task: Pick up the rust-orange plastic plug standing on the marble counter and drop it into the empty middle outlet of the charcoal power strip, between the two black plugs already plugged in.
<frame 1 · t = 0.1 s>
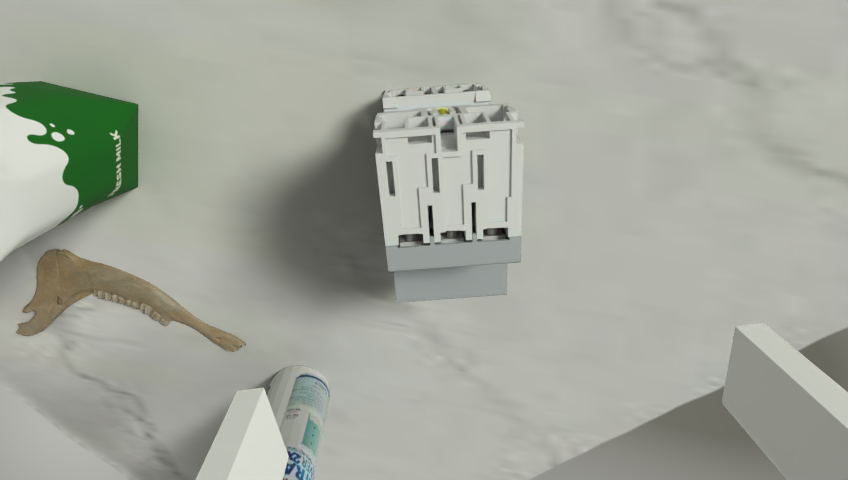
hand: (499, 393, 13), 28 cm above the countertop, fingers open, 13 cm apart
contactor: (437, 173, 40), on the countertop
jawbone: (137, 323, 46), on the countertop
milk carton: (94, 136, 37), on the countertop
spray can: (301, 387, 49), on the countertop
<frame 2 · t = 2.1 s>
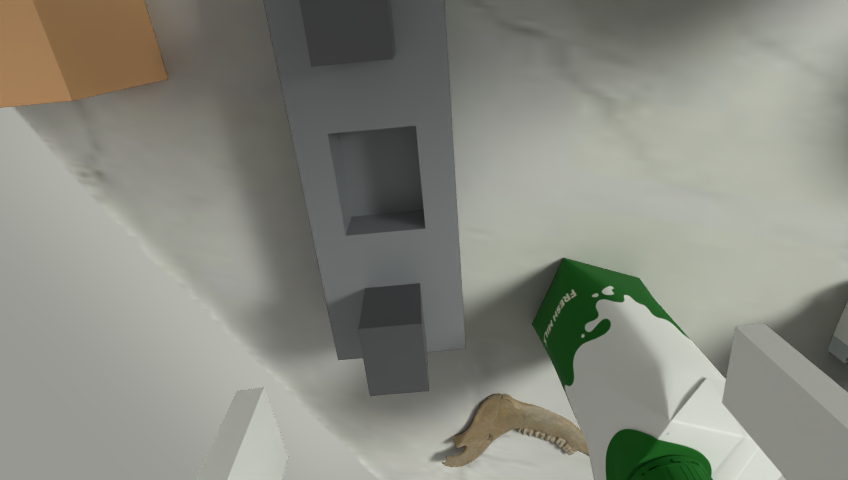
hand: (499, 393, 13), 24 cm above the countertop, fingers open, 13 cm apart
plug: (125, 38, 31), on the countertop
power strip: (383, 162, 35), on the countertop
jawbone: (533, 449, 49), on the countertop
milk carton: (584, 300, 41), on the countertop
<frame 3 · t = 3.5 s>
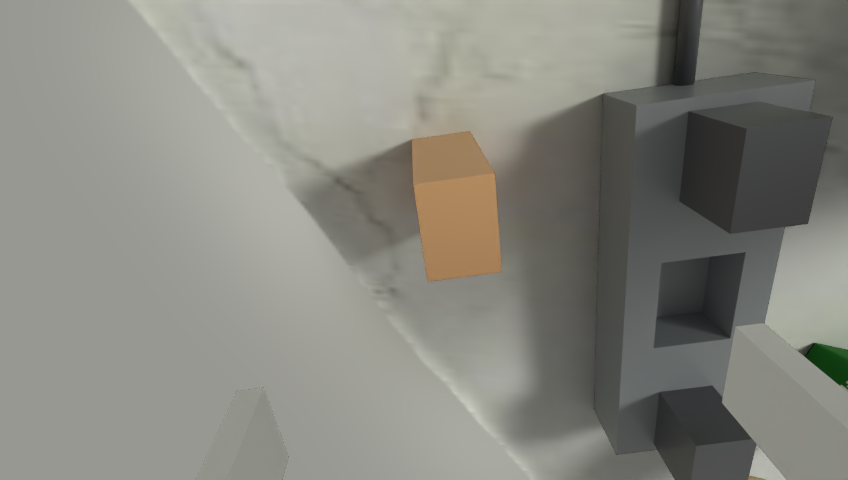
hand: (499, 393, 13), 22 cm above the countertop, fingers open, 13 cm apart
plug: (445, 174, 33), on the countertop
power strip: (661, 268, 36), on the countertop
milk carton: (824, 378, 42), on the countertop
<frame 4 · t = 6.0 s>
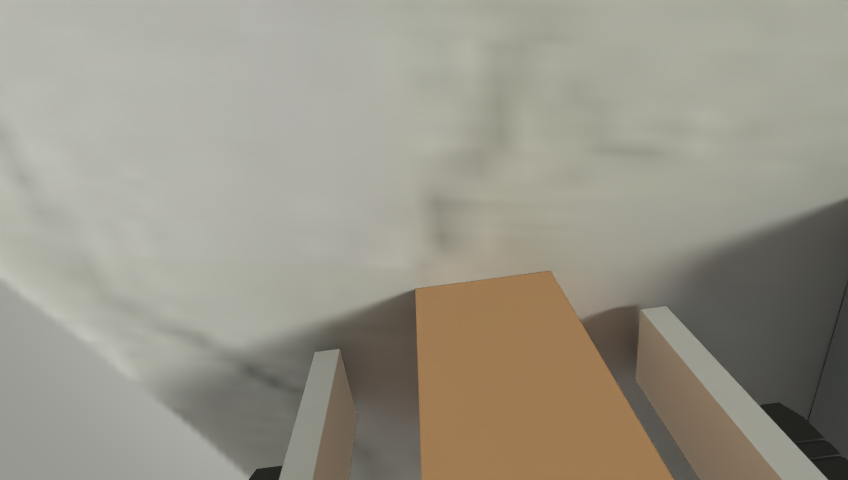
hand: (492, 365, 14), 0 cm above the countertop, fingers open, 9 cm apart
plug: (489, 354, 15), on the countertop
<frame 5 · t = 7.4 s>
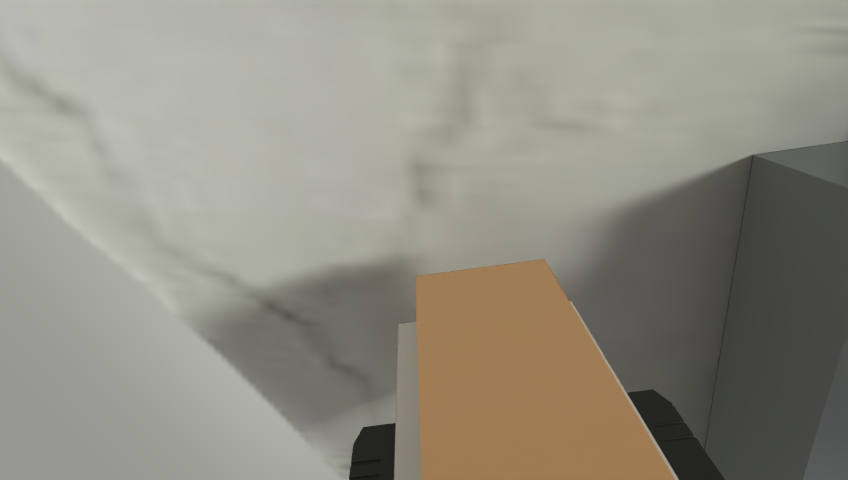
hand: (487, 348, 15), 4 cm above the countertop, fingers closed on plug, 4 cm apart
plug: (486, 340, 15), point 3 cm above the countertop, touching gripper
power strip: (809, 422, 22), on the countertop
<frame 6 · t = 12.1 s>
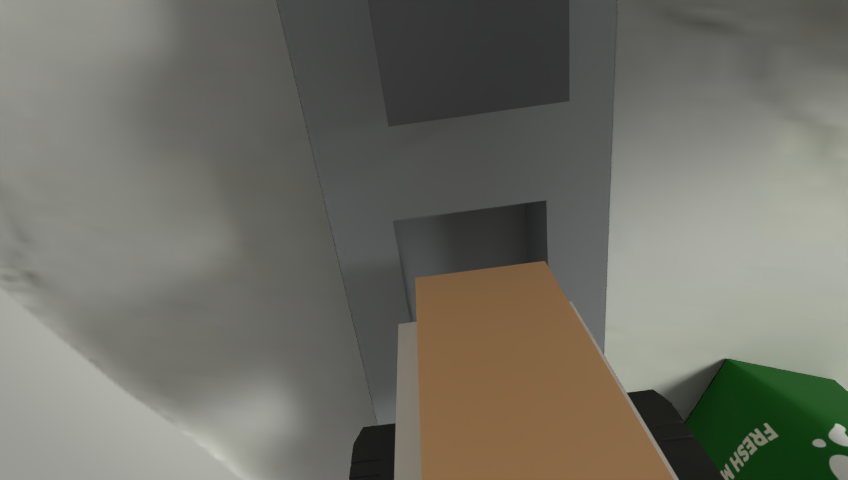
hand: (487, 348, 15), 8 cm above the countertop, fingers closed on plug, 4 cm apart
plug: (486, 341, 15), point 8 cm above the countertop, touching gripper
power strip: (463, 240, 23), on the countertop
milk carton: (747, 410, 28), on the countertop
when the fingers open (7 cm above the countertop, at t = 13.1 s): plug drops 5 cm, resting on power strip.
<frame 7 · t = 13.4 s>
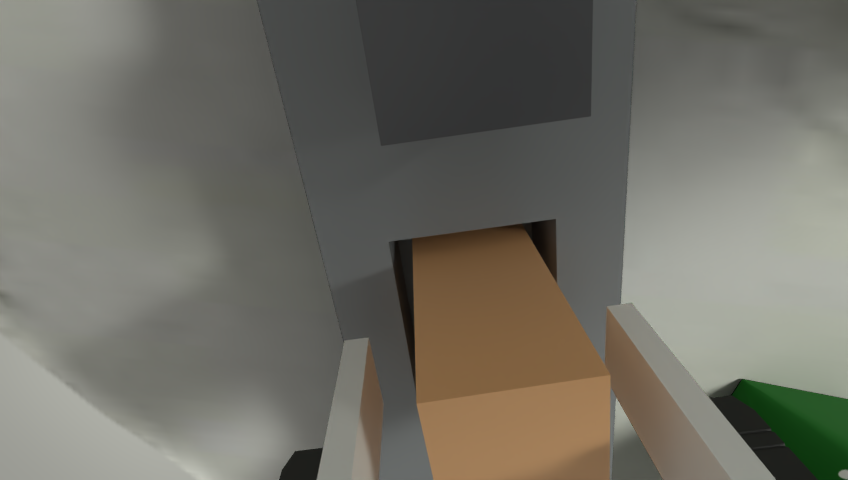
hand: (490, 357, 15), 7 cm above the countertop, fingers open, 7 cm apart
plug: (469, 271, 20), point 1 cm above the countertop, touching power strip
power strip: (464, 256, 21), on the countertop
milk carton: (763, 432, 27), on the countertop
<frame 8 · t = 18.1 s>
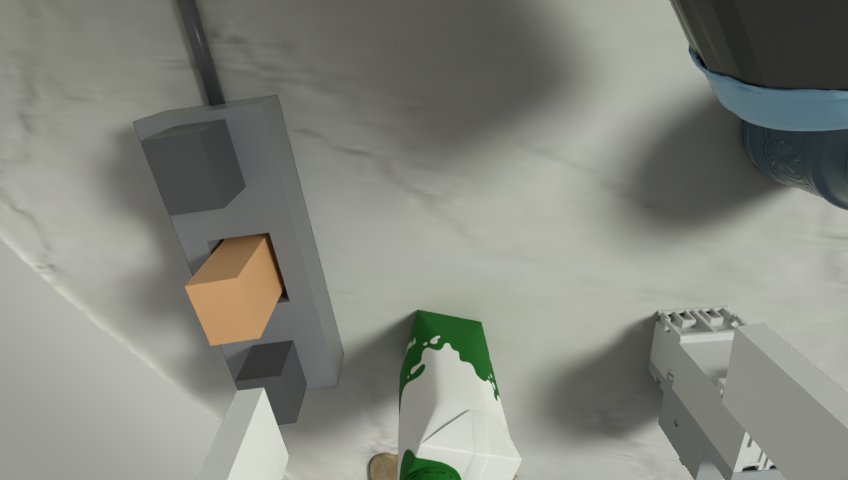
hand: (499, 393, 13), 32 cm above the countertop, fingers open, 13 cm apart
plug: (260, 254, 44), point 1 cm above the countertop, touching power strip
power strip: (265, 248, 46), on the countertop
canister: (808, 111, 42), on the countertop
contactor: (680, 359, 54), on the countertop
milk carton: (442, 340, 51), on the countertop
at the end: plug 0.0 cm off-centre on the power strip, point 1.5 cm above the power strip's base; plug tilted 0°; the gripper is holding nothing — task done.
